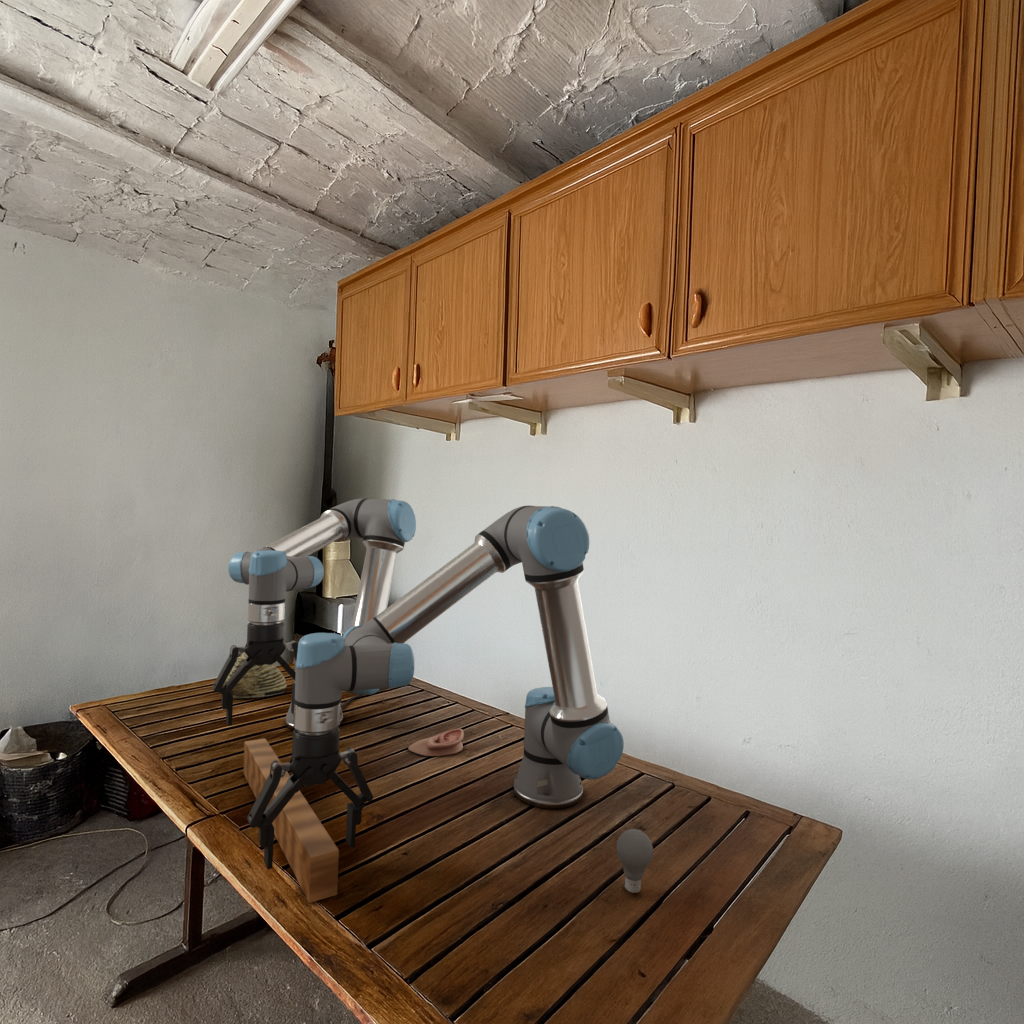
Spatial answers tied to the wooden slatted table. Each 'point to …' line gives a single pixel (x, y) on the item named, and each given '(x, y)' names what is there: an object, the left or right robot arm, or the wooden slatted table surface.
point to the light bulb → (634, 857)
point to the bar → (296, 828)
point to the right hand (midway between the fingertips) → (310, 854)
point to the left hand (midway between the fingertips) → (262, 718)
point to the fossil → (257, 680)
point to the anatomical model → (439, 744)
